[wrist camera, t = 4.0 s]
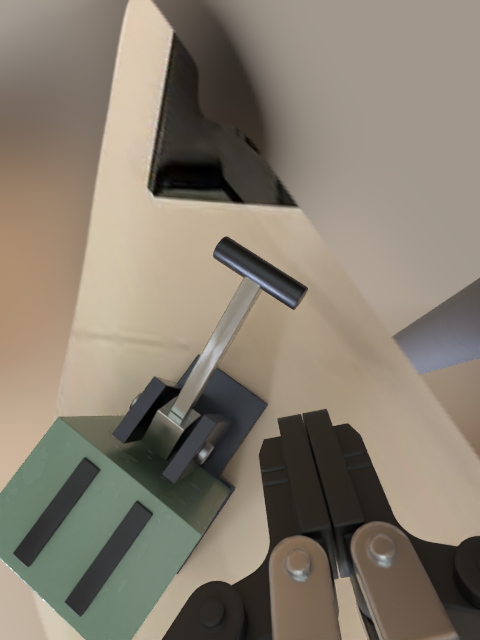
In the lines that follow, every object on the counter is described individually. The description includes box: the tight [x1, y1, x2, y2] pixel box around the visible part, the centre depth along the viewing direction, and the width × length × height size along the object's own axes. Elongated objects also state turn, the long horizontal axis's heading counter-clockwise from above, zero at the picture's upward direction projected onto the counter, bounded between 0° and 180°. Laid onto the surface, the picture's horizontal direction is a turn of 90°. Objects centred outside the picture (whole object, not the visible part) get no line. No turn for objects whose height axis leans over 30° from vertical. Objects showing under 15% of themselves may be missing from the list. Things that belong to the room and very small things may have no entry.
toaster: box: [0, 416, 236, 640], centre depth 31 cm, size 9×12×15 cm
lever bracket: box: [112, 355, 268, 484], centre depth 32 cm, size 10×8×14 cm
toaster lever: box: [141, 237, 308, 461], centre depth 25 cm, size 14×6×2 cm, turn 144°
